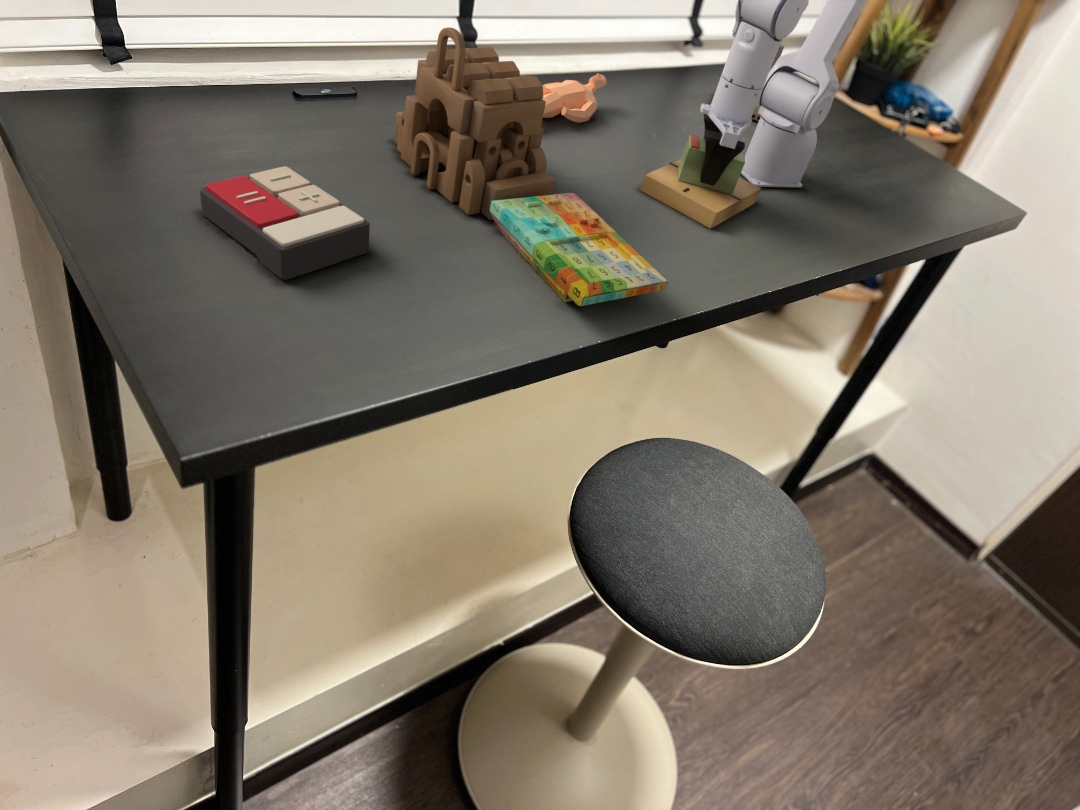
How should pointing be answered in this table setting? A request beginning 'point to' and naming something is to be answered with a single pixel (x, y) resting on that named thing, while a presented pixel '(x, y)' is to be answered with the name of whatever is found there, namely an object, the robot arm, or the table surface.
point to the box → (694, 161)
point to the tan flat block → (698, 196)
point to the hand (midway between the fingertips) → (706, 175)
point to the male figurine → (572, 98)
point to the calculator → (285, 221)
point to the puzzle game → (574, 249)
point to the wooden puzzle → (474, 127)
